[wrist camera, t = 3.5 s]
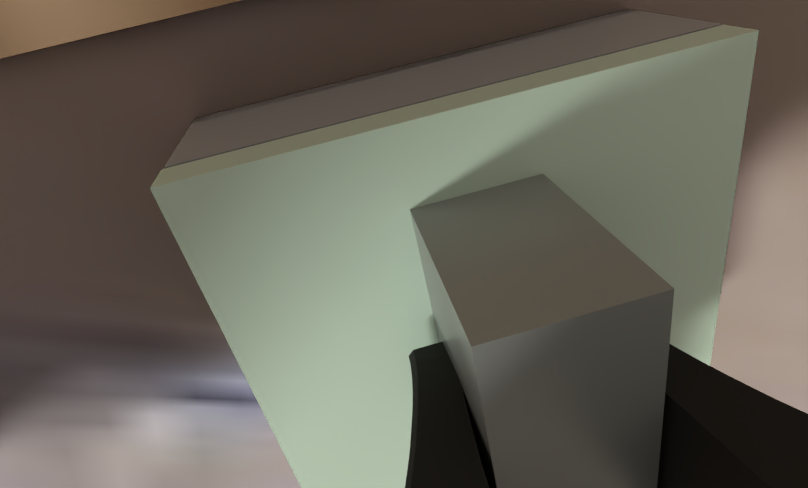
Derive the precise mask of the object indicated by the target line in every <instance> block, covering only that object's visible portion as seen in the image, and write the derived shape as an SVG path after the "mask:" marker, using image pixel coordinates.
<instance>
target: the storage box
mask: <svg viewBox="0 0 808 488" xmlns="http://www.w3.org/2000/svg"><path fill="white" fill-rule="evenodd" d="M720 25H723V24H722V23H716V22H709V21H703V20H697V19H690V18H684V17H677V16H671V15H664V14H658V13H652V12H645V11H639V10H632V9H626V10H622V11H618V12H614V13H610V14H606V15H602V16H599V17H595V18H591V19H587V20H583V21H579V22H575V23H571V24H567V25H563V26H559V27H555V28H551V29H547V30H543V31H539V32H535V33H531V34H527V35H523V36H519V37H515V38H511V39H507V40H504V41H500V42H496V43H492V44H488V45H484V46H480V47H476V48H472V49H468V50H464V51H460V52H456V53H452V54H448V55H444V56H440V57H436V58H432V59H428V60H424V61H420V62H416V63H412V64H408V65H405V66H401V67H397V68H393V69H389V70H385V71H381V72H377V73H373V74H369V75H365V76H361V77H357V78H353V79H349V80H345V81H341V82H337V83H333V84H329V85H325V86H321V87H317V88H313V89H310V90H306V91H302V92H298V93H294V94H290V95H286V96H282V97H278V98H274V99H270V100H266V101H262V102H258V103H254V104H250V105H246V106H242V107H238V108H234V109H230V110H226V111H222V112H218V113H214V114H211V115H207V116H203V117H199V118H195V119H194V120H193V122H192V124H191V125H190V127H189V128H188V130H187V131H186V133H185V135H184V136H183V138H182V139H181V141H180V142H179V144H178V146H177V147H176V149H175V150H174V152H173V153H172V155H171V157H170V158H169V160H168V161H167V163H166V165H165V166H164V169H165V168H169V167H173V166H177V165H181V164H184V163H188V162H192V161H196V160H200V159H204V158H208V157H212V156H216V155H219V154H223V153H227V152H231V151H235V150H239V149H243V148H247V147H251V146H254V145H258V144H262V143H266V142H270V141H274V140H278V139H282V138H285V137H289V136H293V135H297V134H301V133H305V132H309V131H313V130H317V129H320V128H324V127H328V126H332V125H336V124H340V123H344V122H348V121H351V120H355V119H359V118H363V117H367V116H371V115H375V114H379V113H383V112H386V111H390V110H394V109H398V108H402V107H406V106H410V105H414V104H417V103H421V102H425V101H429V100H433V99H437V98H441V97H445V96H449V95H452V94H456V93H460V92H464V91H468V90H472V89H476V88H480V87H483V86H487V85H491V84H495V83H499V82H503V81H507V80H511V79H515V78H518V77H522V76H526V75H530V74H534V73H538V72H542V71H546V70H549V69H553V68H557V67H561V66H565V65H569V64H573V63H577V62H581V61H584V60H588V59H592V58H596V57H600V56H604V55H608V54H612V53H616V52H619V51H623V50H627V49H631V48H635V47H639V46H643V45H647V44H650V43H654V42H658V41H662V40H666V39H670V38H674V37H678V36H682V35H685V34H689V33H693V32H697V31H701V30H705V29H709V28H713V27H716V26H720Z"/></svg>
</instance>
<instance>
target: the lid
mask: <svg viewBox="0 0 808 488" xmlns="http://www.w3.org/2000/svg"><path fill="white" fill-rule="evenodd" d="M758 34H759V30H755V29H749V28H742V27H736V26H730V25H720V26H716V27H713V28H709V29H705V30H701V31H697V32H693V33H689V34H685V35H682V36H678V37H674V38H670V39H666V40H662V41H658V42H654V43H650V44H647V45H643V46H639V47H635V48H631V49H627V50H623V51H619V52H616V53H612V54H608V55H604V56H600V57H596V58H592V59H588V60H584V61H581V62H577V63H573V64H569V65H565V66H561V67H557V68H553V69H549V70H546V71H542V72H538V73H534V74H530V75H526V76H522V77H518V78H515V79H511V80H507V81H503V82H499V83H495V84H491V85H487V86H483V87H480V88H476V89H472V90H468V91H464V92H460V93H456V94H452V95H449V96H445V97H441V98H437V99H433V100H429V101H425V102H421V103H417V104H414V105H410V106H406V107H402V108H398V109H394V110H390V111H386V112H383V113H379V114H375V115H371V116H367V117H363V118H359V119H355V120H351V121H348V122H344V123H340V124H336V125H332V126H328V127H324V128H320V129H317V130H313V131H309V132H305V133H301V134H297V135H293V136H289V137H285V138H282V139H278V140H274V141H270V142H266V143H262V144H258V145H254V146H251V147H247V148H243V149H239V150H235V151H231V152H227V153H223V154H219V155H216V156H212V157H208V158H204V159H200V160H196V161H192V162H188V163H184V164H181V165H177V166H173V167H169V168H165V169H161V171H160V173H159V174H158V176H157V177H156V179H155V180H154V182H153V184H152V185H151V187H150V190H151V192H152V194H153V196H154V198H155V200H156V202H157V204H158V206H159V208H160V210H161V212H162V214H163V216H164V218H165V220H166V222H167V224H168V225H169V227H170V229H171V231H172V233H173V235H174V237H175V239H176V241H177V243H178V245H179V247H180V249H181V251H182V253H183V255H184V257H185V259H186V261H187V263H188V265H189V267H190V269H191V271H192V273H193V275H194V277H195V279H196V281H197V283H198V285H199V287H200V289H201V291H202V293H203V295H204V297H205V299H206V301H207V303H208V304H209V306H210V308H211V310H212V312H213V314H214V316H215V318H216V320H217V322H218V324H219V326H220V328H221V330H222V332H223V334H224V336H225V338H226V340H227V342H228V344H229V346H230V348H231V350H232V352H233V354H234V356H235V358H236V360H237V362H238V364H239V366H240V368H241V370H242V372H243V374H244V376H245V378H246V380H247V382H248V383H249V385H250V387H251V389H252V391H253V393H254V395H255V397H256V399H257V401H258V403H259V405H260V407H261V409H262V411H263V413H264V415H265V417H266V419H267V421H268V423H269V425H270V427H271V429H272V431H273V433H274V435H275V437H276V439H277V441H278V443H279V445H280V447H281V449H282V451H283V453H284V455H285V457H286V459H287V461H288V462H289V464H290V466H291V468H292V470H293V472H294V474H295V476H296V478H297V480H298V482H299V484H300V486H301V488H405V484H406V476H407V469H408V461H409V453H410V441H411V426H412V407H413V388H412V373H411V364H410V360H409V355H410V353H411V352H412V351H413V350H414V349H418V348H421V347H425V346H428V345H432V344H435V343H439V342H443V344H444V346H445V348H446V350H447V352H448V355H449V357H450V359H451V361H452V364H453V366H454V368H455V371H456V373H457V375H458V378H459V380H460V384H461V388H462V391H463V395H464V399H465V403H466V406H467V410H468V414H469V418H470V422H471V425H472V429H473V433H474V437H475V440H476V444H477V448H478V452H479V455H480V459H481V463H482V466H483V469H484V472H485V476H486V479H487V482H488V485H489V488H657V482H658V471H659V459H660V448H661V436H662V425H663V414H664V402H665V391H666V379H667V368H668V356H669V345H670V344H671V345H673V346H675V347H676V348H678V349H680V350H682V351H684V352H685V353H687V354H689V355H691V356H693V357H694V358H696V359H698V360H700V361H701V362H703V363H705V364H707V365H709V366H710V363H711V356H712V349H713V342H714V335H715V328H716V322H717V315H718V308H719V301H720V294H721V287H722V280H723V274H724V267H725V260H726V253H727V246H728V239H729V233H730V226H731V219H732V212H733V205H734V198H735V192H736V185H737V178H738V171H739V164H740V157H741V151H742V144H743V137H744V130H745V123H746V116H747V109H748V103H749V96H750V89H751V82H752V75H753V68H754V62H755V55H756V48H757V41H758Z"/></svg>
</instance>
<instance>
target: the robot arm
mask: <svg viewBox="0 0 808 488" xmlns="http://www.w3.org/2000/svg"><path fill="white" fill-rule="evenodd" d="M409 360H410V364H411V373H412V388H413V407H412V426H411V441H410V453H409V461H408V469H407V476H406V484H405V488H489V485H488V482H487V479H486V476H485V472H484V469H483V466H482V463H481V459H480V455H479V452H478V448H477V444H476V440H475V437H474V433H473V429H472V425H471V422H470V418H469V414H468V410H467V406H466V403H465V399H464V395H463V391H462V388H461V384H460V380H459V378H458V375H457V373H456V371H455V368H454V366H453V364H452V361H451V359H450V357H449V355H448V352H447V350H446V348H445V346H444V344H443V342H439V343H435V344H432V345H428V346H425V347H421V348H418V349H414V350H413V351H412V352H411V353H410V355H409ZM657 488H808V414H807V413H805V412H802V411H800V410H798V409H796V408H793V407H791V406H789V405H787V404H785V403H783V402H780V401H778V400H776V399H774V398H772V397H770V396H768V395H766V394H764V393H762V392H760V391H758V390H756V389H754V388H752V387H750V386H748V385H746V384H744V383H742V382H740V381H738V380H736V379H734V378H732V377H730V376H728V375H726V374H724V373H722V372H720V371H718V370H716V369H715V368H713V367H711V366H709V365H707V364H705V363H703V362H701V361H700V360H698V359H696V358H694V357H693V356H691V355H689V354H687V353H685V352H684V351H682V350H680V349H678V348H676V347H675V346H673V345H671V344H670V345H669V356H668V368H667V379H666V391H665V402H664V414H663V425H662V436H661V448H660V459H659V471H658V482H657Z"/></svg>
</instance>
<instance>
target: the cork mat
mask: <svg viewBox="0 0 808 488" xmlns="http://www.w3.org/2000/svg"><path fill="white" fill-rule="evenodd" d="M237 1H241V0H0V59H1V58H5V57H9V56H13V55H17V54H22V53H26V52H30V51H34V50H38V49H42V48H46V47H51V46H55V45H59V44H63V43H67V42H71V41H75V40H80V39H84V38H88V37H92V36H96V35H100V34H105V33H109V32H113V31H117V30H121V29H125V28H129V27H134V26H138V25H142V24H146V23H150V22H154V21H158V20H163V19H167V18H171V17H175V16H179V15H183V14H187V13H192V12H196V11H200V10H204V9H208V8H212V7H217V6H221V5H225V4H229V3H233V2H237Z"/></svg>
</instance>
